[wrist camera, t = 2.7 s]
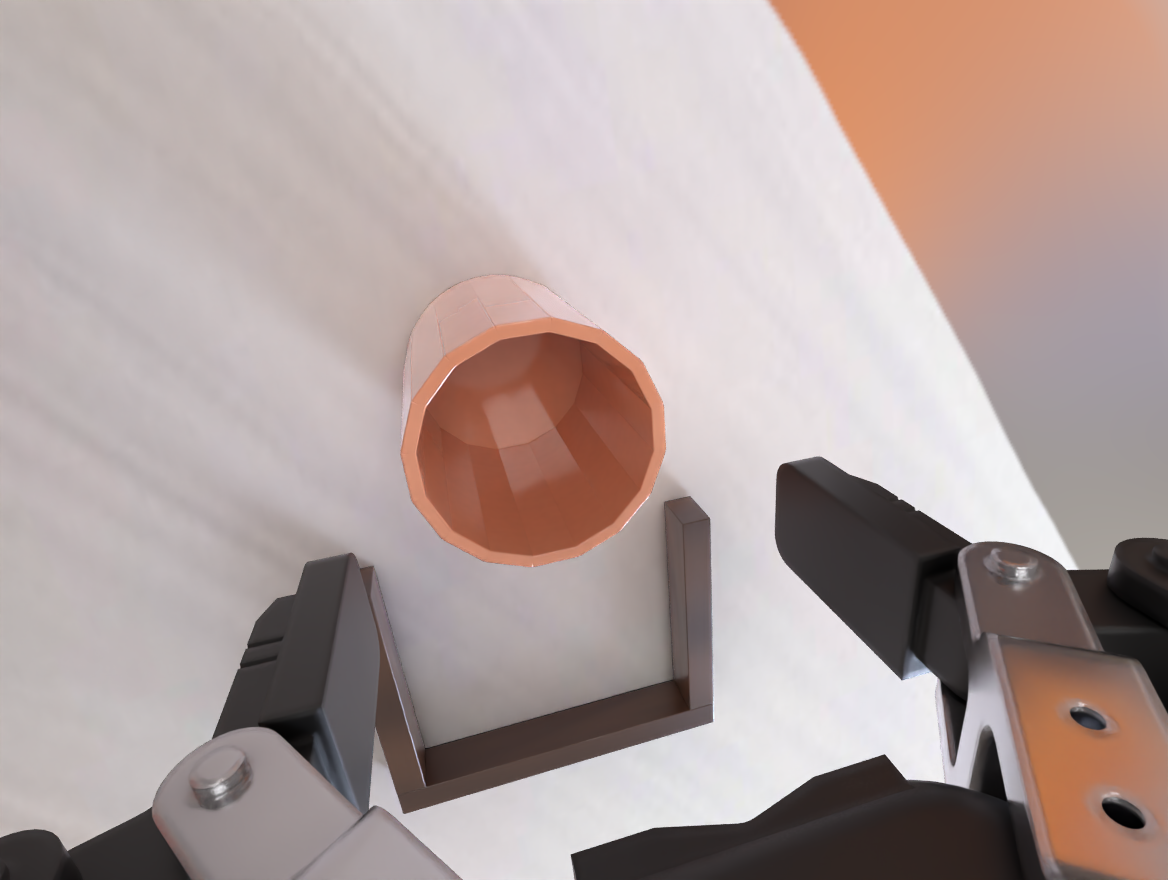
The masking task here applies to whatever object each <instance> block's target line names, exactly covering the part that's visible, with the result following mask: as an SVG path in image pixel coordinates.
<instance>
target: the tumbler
mask: <svg viewBox="0 0 1168 880" xmlns="http://www.w3.org/2000/svg"><path fill="white" fill-rule="evenodd" d="M665 450H666V440H665V420H664V405H663V401H662V399H661V397H660V395H659V393H658V391H657V389H656V387H655V385H654V383H653V381H652V379H651V377H650V375H649V373H648V371H647V369H646V367H645V365H644V363H643V362H642V361H641V360H640V359H639V358H638V357H636V356H635V355H634V354H633V353H631V352H630V351H629V350H628V349H626V348H625V347H624V346H623V345H621V344H620V343H619V342H618V341H616V340H615V339H614V338H613V337H611V336H610V335H609V334H608V333H606V332H605V331H604V330H602V329H601V328H600V327H598V326H597V325H596V324H594V323H593V322H592V321H590V320H589V319H588V318H586V317H585V316H584V315H582V314H581V313H580V312H578V311H577V310H576V309H574V308H573V307H572V306H570V305H569V304H568V303H566V302H565V301H564V300H562V299H561V298H560V297H558V296H557V295H556V294H554V293H553V292H552V291H550V290H549V289H548V288H546V287H545V286H543V285H541V284H537V283H535V282H533V281H530V280H527V279H524V278H520V277H515V276H510V275H485V276H480V277H475V278H471V279H469V280H466V281H463V282H460V283H458V284H456V285H454V286H452V287H451V288H449V289H447V290H446V291H445V292H443V293H442V294H440V295H439V296H438V297H437V298H436V299H435V300H433V301H432V302H431V303H430V304H429V306H428V307H427V308H426V309H425V310H424V312H423V313H422V314H421V316H420V318H419V319H418V321H417V322H416V324H415V326H414V329H413V330H412V333H411V335H410V339H409V343H408V347H407V354H406V360H405V365H404V377H403V401H402V425H401V450H400V452H401V454H400V455H401V459H402V463H403V467H404V471H405V476H406V480H407V484H408V488H409V492H410V497H411V500H412V501H413V504H414V505H415V506H416V508H417V509H418V510H419V511H420V513H421V514H422V515H423V516H424V518H425V519H426V520H427V521H428V523H429V524H430V525H431V526H432V528H433V529H434V530H435V531H436V533H437V534H438V535H439V536H440V538H441V539H443V540H444V541H446V542H448V543H450V544H452V545H454V546H455V547H457V548H459V549H461V550H463V551H465V552H467V553H469V554H471V555H473V556H474V557H476V558H478V559H480V560H482V561H485V562H490V563H499V564H508V565H517V566H526V567H532V566H533V567H536V566H540V565H545V564H549V563H553V562H557V561H562V560H566V559H570V558H575V557H578V556H581V555H583V554H584V553H586V552H587V551H589V550H591V549H592V548H594V547H596V546H597V545H599V544H600V543H602V542H604V541H605V540H607V539H609V538H610V537H612V536H613V535H615V534H617V533H618V532H620V530H622V529H623V527H624V526H625V525H626V524H627V523H628V521H629V520H630V519H631V518H632V516H633V515H634V514H635V513H636V512H637V510H638V509H639V508H640V507H641V506H642V504H643V503H644V502H645V501H646V499H647V498H648V497H649V496H650V494H651V492H652V489H653V486H654V483H655V480H656V478H657V475H658V472H659V469H660V466H661V463H662V460H663V458H664V455H665Z"/></svg>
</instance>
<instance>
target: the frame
mask: <svg viewBox="0 0 1168 880" xmlns="http://www.w3.org/2000/svg"><path fill="white" fill-rule="evenodd" d="M665 519H666V539H667V558H668V578H669V597H670V616H671V636H672V655H673V674H674V680H671V681H668V682H664V683H661V684H657V685H654V686H650V687H646V688H643V689H639V690H636V691H632V692H629V693H625V694H621V695H618V696H614V697H611V698H607V699H604V700H600V701H596V702H593V703H589V704H586V705H582V706H579V707H575V708H571V709H568V710H564V711H561V712H557V713H554V714H550V715H546V716H543V717H539V718H536V719H532V720H529V721H525V722H521V723H518V724H514V725H511V726H507V727H504V728H500V729H496V730H493V731H489V732H486V733H482V734H479V735H475V736H471V737H468V738H464V739H461V740H457V741H454V742H450V743H446V744H443V745H439V746H436V747H432V748H429V749H425V747H424V743H423V740H422V736H421V733H420V729H419V726H418V722H417V718H416V715H415V711H414V708H413V704H412V701H411V697H410V694H409V690H408V686H407V683H406V679H405V676H404V672H403V669H402V665H401V662H400V658H399V655H398V651H397V647H396V644H395V640H394V637H393V633H392V630H391V626H390V623H389V619H388V615H387V612H386V608H385V605H384V601H383V598H382V594H381V591H380V587H379V583H378V580H377V576H376V573H375V569H374V567H373V566H371V567H367V568H362V569H360V572H361V575H362V579H363V582H364V586H365V589H366V593H367V597H368V600H369V604H370V607H371V611H372V614H373V618H374V621H375V625H376V629H377V634H378V640H379V649H380V667H379V680H378V693H377V706H376V719H375V727H376V730H377V733H378V736H379V739H380V742H381V745H382V748H383V752H384V755H385V758H386V761H387V764H388V767H389V770H390V773H391V777H392V780H393V783H394V786H395V789H396V792H397V795H398V798H399V801H400V804H401V808H402V811H403V813H404V814H406V813H409V812H413V811H416V810H419V809H423V808H426V807H429V806H433V805H436V804H440V803H443V802H446V801H450V800H453V799H456V798H460V797H463V796H466V795H470V794H473V793H476V792H480V791H483V790H486V789H490V788H493V787H497V786H500V785H503V784H507V783H510V782H513V781H517V780H520V779H523V778H527V777H530V776H533V775H537V774H540V773H544V772H547V771H550V770H554V769H557V768H560V767H564V766H567V765H570V764H574V763H577V762H580V761H584V760H587V759H591V758H594V757H597V756H601V755H604V754H607V753H611V752H614V751H617V750H621V749H624V748H627V747H631V746H634V745H638V744H641V743H644V742H648V741H651V740H654V739H658V738H661V737H664V736H668V735H671V734H674V733H678V732H681V731H684V730H688V729H691V728H695V727H698V726H701V725H705V724H708V723H711V722H714V708H713V650H712V594H711V539H710V518H709V517H708V515H707V514H706V513H705V512H704V511H703V510H702V509H701V508H700V507H699V505H698V504H697V503H696V502H695V501H694V500H693V499H692V498H691V497H690V496H689V497H685V498H680V499H676V500H671V501H667V502H665Z"/></svg>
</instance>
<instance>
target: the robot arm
mask: <svg viewBox="0 0 1168 880" xmlns="http://www.w3.org/2000/svg"><path fill="white" fill-rule="evenodd" d="M775 539H776V544H777V548H778V550H779V553H780V555H781V557H782V559H783V560H784V562H785V563H786V564H787V566H788V567H789V568H790V569H791V570H792V571H793V572H794V573H795V574H796V575H797V576H798V577H799V578H800V579H801V580H802V581H803V582H804V583H805V584H806V585H807V586H808V587H809V588H810V589H811V590H812V591H813V592H814V593H815V594H816V595H817V596H818V597H819V598H820V599H821V600H822V601H823V602H824V603H825V604H826V605H827V606H828V607H829V608H830V609H831V610H832V611H833V612H834V613H835V614H836V615H837V616H838V617H839V618H840V619H841V620H842V621H843V622H844V623H845V624H846V625H847V626H848V627H849V628H850V629H851V630H852V631H853V632H854V633H855V634H856V635H857V636H858V637H859V638H860V639H861V640H862V641H863V642H864V643H865V644H866V645H867V646H868V647H869V648H870V649H871V650H872V651H873V652H874V653H875V654H876V655H877V656H878V657H879V658H880V659H881V660H882V661H883V662H884V663H885V664H886V665H887V666H888V667H889V668H890V669H891V670H892V671H893V672H894V673H895V674H896V675H897V676H898V677H899V678H900V679H901V680H905V679H909V678H912V677H915V676H919V675H922V674H926V673H929V672H932V673H933V674H934V675H936V676H937V677H938V679H937V685H936V691H935V699H936V707H937V716H938V725H939V734H940V743H941V752H942V761H943V770H944V779H945V783H939V782H933V781H920V780H906V779H905V778H904V777H903V775H902V774H901V773H900V772H899V771H898V770H897V768H896V767H895V766H894V765H893V764H892V762H891V761H890V760H889V759H888V758H887V756H886V755H885V754H884V755H881V756H878V757H875V758H872V759H869V760H866V761H863V762H859V763H856V764H853V765H850V766H847V767H844V768H841V769H837V770H834V771H831V772H828V773H825V774H822V775H819V776H815V777H813V778H812V779H810V780H809V781H807V782H806V783H804V784H803V785H802V786H800V787H799V788H797V789H796V790H794V791H793V792H791V793H790V794H789V795H787V796H786V797H784V798H783V799H781V800H780V801H778V802H777V803H776V804H774V805H773V806H771V807H770V808H768V809H767V810H765V811H764V812H763V813H761V814H760V815H758V816H757V817H755V818H754V819H752V820H750V821H748V822H745V823H739V824H721V825H701V826H682V827H662V828H652V829H649V830H646V831H643V832H640V833H637V834H633V835H630V836H627V837H624V838H621V839H618V840H615V841H612V842H608V843H605V844H602V845H599V846H596V847H593V848H590V849H586V850H583V851H580V852H577V853H574V854H571V859H572V865H573V872H574V878H575V880H1168V540H1166V539H1158V538H1134V539H1129V540H1125V541H1123V542H1120V543H1119V544H1118V545H1117V546H1116V548H1115V551H1114V554H1113V558H1112V562H1111V565H1110V568H1109V569H1107V570H1066V569H1065V568H1064V567H1063V566H1062V565H1061V564H1060V563H1058V562H1057V561H1056V560H1054V559H1053V558H1051V557H1049V556H1047V555H1045V554H1043V553H1041V552H1039V551H1036V550H1034V549H1031V548H1028V547H1024V546H1021V545H1016V544H1012V543H1005V542H979V543H974V544H972V543H970V542H968V541H967V540H965V539H964V538H962V537H960V536H959V535H957V534H956V533H954V532H953V531H951V530H949V529H948V528H946V527H945V526H943V525H941V524H940V523H938V522H937V521H935V520H933V519H932V518H930V517H929V516H927V515H926V514H924V513H922V512H921V511H915V508H914V507H913V506H911V505H910V504H908V503H907V502H905V501H903V500H898V497H897V496H895V495H894V494H892V493H891V492H889V491H887V490H886V489H884V488H883V487H881V486H880V485H878V484H876V483H873V482H870V481H867V480H864V479H861V478H858V477H855V476H852V475H849V474H847V473H846V472H844V471H843V470H841V469H840V468H838V467H837V466H835V465H834V464H832V463H831V462H829V461H827V460H826V459H824V458H822V457H813V458H808V459H803V460H798V461H793V462H789V463H784V464H782V465H781V466H780V467H779V469H778V472H777V479H776V513H775ZM247 645H248V649H245V652H244V655H243V657H242V660H241V663H240V669H238V671H237V673H236V676H235V679H234V681H233V684H232V687H231V689H230V692H229V695H228V697H227V700H226V703H225V705H224V708H223V711H222V713H221V716H220V719H219V722H218V724H217V727H216V730H215V732H214V735H213V738H212V740H210V741H208V742H206V743H205V744H203V745H201V746H200V747H198V748H197V749H195V750H194V751H193V752H191V753H190V754H188V755H187V756H186V757H185V758H184V759H183V760H181V761H180V762H179V763H178V764H177V765H176V766H175V767H174V768H173V769H172V770H171V772H170V773H169V774H168V775H167V777H166V778H165V779H164V781H163V782H162V784H161V785H160V787H159V789H158V791H157V793H156V795H155V798H154V800H153V806H152V807H151V808H150V809H148V810H147V811H145V812H143V813H141V814H140V815H138V816H136V817H134V818H132V819H130V820H128V821H126V822H124V823H122V824H120V825H118V826H116V827H114V828H112V829H110V830H108V831H106V832H104V833H102V834H100V835H98V836H96V837H94V838H92V839H90V840H88V841H86V842H84V843H82V844H80V845H78V846H76V847H74V848H72V849H70V850H68V851H67V850H66V849H65V847H64V846H63V844H62V843H61V841H60V839H59V838H58V837H57V836H56V835H55V834H53V833H52V832H49V831H46V830H37V829H34V830H25V831H20V832H16V833H12V834H9V835H7V836H4V837H1V838H0V880H462V879H461V878H460V877H459V876H458V875H457V874H456V873H455V872H454V871H453V870H451V869H450V868H449V867H448V866H447V865H446V864H445V863H444V862H443V861H442V860H441V859H439V858H438V857H437V856H436V855H435V854H434V853H433V852H432V851H431V850H430V849H429V848H427V847H426V846H425V845H424V844H423V843H422V842H421V841H420V840H419V839H418V838H417V837H415V836H414V835H413V834H412V833H411V832H410V831H409V830H408V829H407V828H406V827H405V826H403V825H402V824H401V823H400V822H399V821H398V820H397V819H396V818H395V817H394V816H392V815H391V814H390V813H389V812H387V811H386V810H385V809H383V808H381V807H379V806H373V807H372V808H370V809H369V797H370V784H371V771H372V758H373V745H374V732H375V719H376V706H377V693H378V680H379V667H380V649H379V640H378V634H377V629H376V625H375V621H374V618H373V614H372V611H371V607H370V604H369V600H368V597H367V593H366V589H365V586H364V582H363V579H362V575H361V572H360V568H359V565H358V562H357V559H356V557H355V555H354V554H353V553H348V554H343V555H339V556H334V557H329V558H324V559H319V560H315V561H310V562H307V563H306V564H305V566H304V570H303V573H302V576H301V580H300V583H299V586H298V590H297V593H296V594H295V595H290V596H286V597H281V598H277V599H276V600H275V601H274V602H273V603H272V604H271V605H270V607H269V608H268V609H267V610H266V611H265V612H264V613H263V614H262V615H261V616H260V617H259V619H258V620H257V621H256V623H255V625H254V628H253V631H252V633H251V636H250V639H249V641H248V644H247Z"/></svg>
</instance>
